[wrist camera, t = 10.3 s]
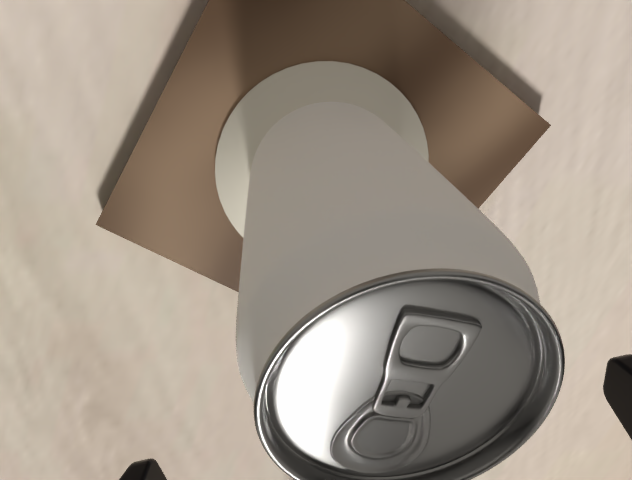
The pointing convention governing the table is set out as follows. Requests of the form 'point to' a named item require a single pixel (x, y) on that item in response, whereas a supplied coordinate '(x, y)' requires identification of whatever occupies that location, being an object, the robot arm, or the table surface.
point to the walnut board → (293, 93)
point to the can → (383, 311)
